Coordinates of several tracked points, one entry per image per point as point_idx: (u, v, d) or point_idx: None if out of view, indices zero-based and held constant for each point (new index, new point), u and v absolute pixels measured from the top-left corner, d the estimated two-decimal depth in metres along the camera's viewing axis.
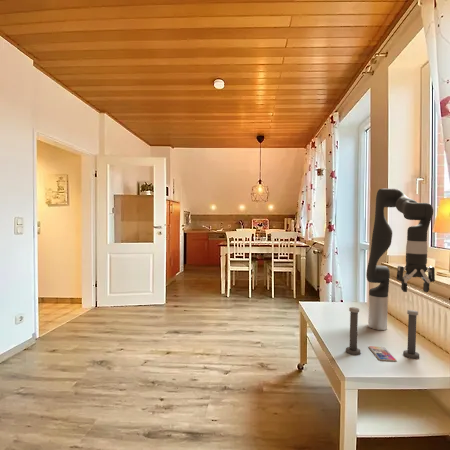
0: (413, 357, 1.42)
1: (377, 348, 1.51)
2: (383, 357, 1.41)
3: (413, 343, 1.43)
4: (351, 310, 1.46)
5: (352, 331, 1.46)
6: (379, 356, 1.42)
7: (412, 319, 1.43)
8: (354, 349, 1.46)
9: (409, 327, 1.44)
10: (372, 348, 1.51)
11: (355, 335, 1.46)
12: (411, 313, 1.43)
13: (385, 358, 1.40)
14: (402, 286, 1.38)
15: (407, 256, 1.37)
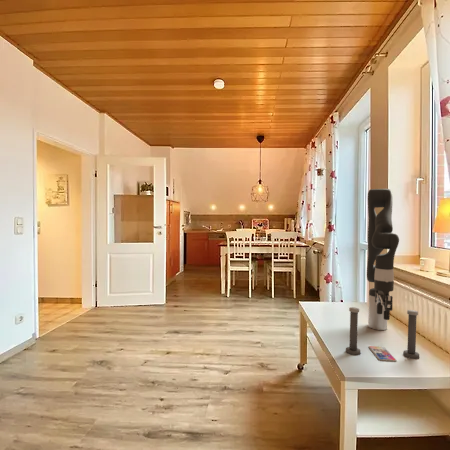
0: (413, 357, 1.42)
1: (377, 348, 1.51)
2: (383, 357, 1.41)
3: (413, 343, 1.43)
4: (351, 310, 1.46)
5: (352, 331, 1.46)
6: (378, 356, 1.42)
7: (412, 319, 1.43)
8: (354, 349, 1.46)
9: (409, 327, 1.44)
10: (372, 348, 1.51)
11: (355, 335, 1.46)
12: (411, 313, 1.43)
13: (385, 358, 1.40)
14: (387, 315, 1.41)
15: (387, 285, 1.42)
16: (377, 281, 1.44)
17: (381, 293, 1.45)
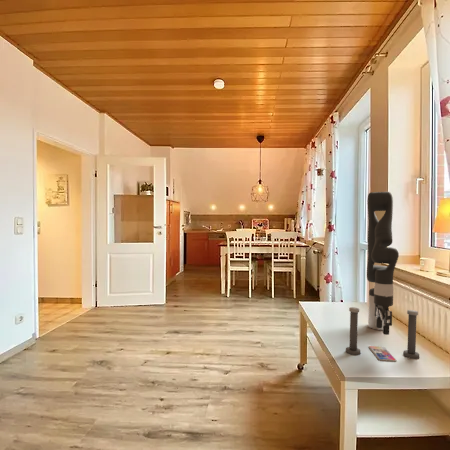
0: (413, 357, 1.42)
1: (377, 348, 1.51)
2: (383, 357, 1.41)
3: (413, 343, 1.43)
4: (351, 310, 1.46)
5: (352, 331, 1.46)
6: (378, 356, 1.42)
7: (412, 319, 1.43)
8: (354, 349, 1.46)
9: (409, 327, 1.44)
10: (372, 348, 1.51)
11: (355, 335, 1.46)
12: (411, 313, 1.43)
13: (385, 358, 1.40)
14: (387, 330, 1.41)
15: (387, 299, 1.42)
16: (376, 296, 1.44)
17: (381, 307, 1.45)
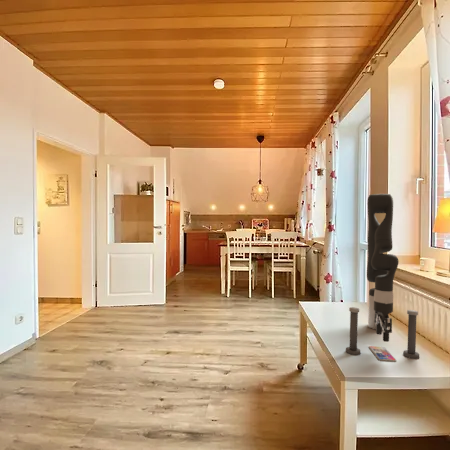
0: (413, 357, 1.42)
1: (377, 348, 1.51)
2: (383, 357, 1.41)
3: (413, 343, 1.43)
4: (351, 310, 1.46)
5: (352, 331, 1.46)
6: (378, 356, 1.42)
7: (412, 319, 1.43)
8: (354, 349, 1.46)
9: (409, 327, 1.44)
10: (372, 348, 1.51)
11: (355, 335, 1.46)
12: (411, 313, 1.43)
13: (385, 358, 1.40)
14: (387, 337, 1.41)
15: (386, 306, 1.42)
16: (376, 303, 1.44)
17: (380, 314, 1.45)
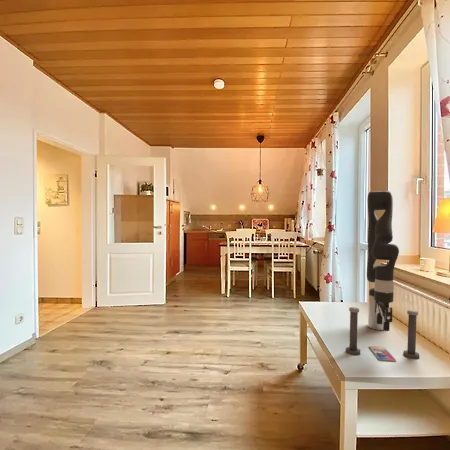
0: (413, 357, 1.42)
1: (377, 348, 1.51)
2: (383, 357, 1.41)
3: (413, 343, 1.43)
4: (351, 310, 1.46)
5: (352, 331, 1.46)
6: (378, 356, 1.42)
7: (412, 319, 1.43)
8: (354, 349, 1.46)
9: (409, 327, 1.44)
10: (372, 348, 1.51)
11: (355, 335, 1.46)
12: (411, 313, 1.43)
13: (385, 358, 1.40)
14: (387, 326, 1.41)
15: (387, 296, 1.42)
16: (377, 292, 1.44)
17: (381, 304, 1.45)
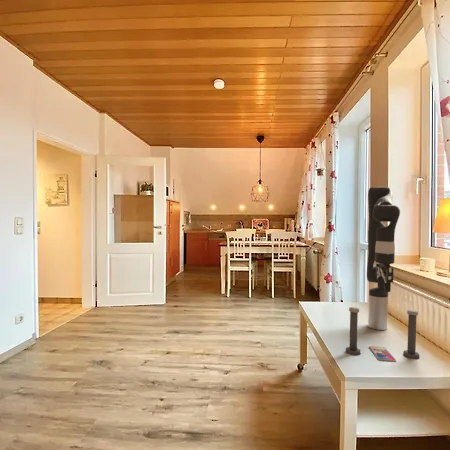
0: (413, 357, 1.42)
1: (377, 348, 1.51)
2: (383, 357, 1.41)
3: (413, 343, 1.43)
4: (351, 310, 1.46)
5: (352, 331, 1.46)
6: (378, 356, 1.42)
7: (412, 319, 1.43)
8: (354, 349, 1.46)
9: (409, 327, 1.44)
10: (372, 348, 1.51)
11: (355, 335, 1.46)
12: (411, 313, 1.43)
13: (385, 358, 1.40)
14: (388, 287, 1.40)
15: (388, 257, 1.41)
16: (378, 254, 1.44)
17: (382, 266, 1.45)
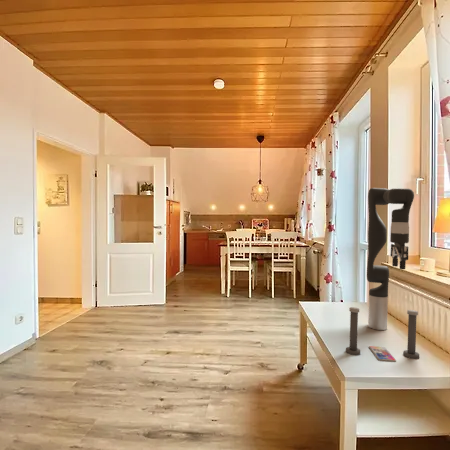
0: (413, 357, 1.42)
1: (377, 348, 1.51)
2: (383, 357, 1.41)
3: (413, 343, 1.43)
4: (351, 310, 1.46)
5: (352, 331, 1.46)
6: (378, 356, 1.42)
7: (412, 319, 1.43)
8: (354, 349, 1.46)
9: (409, 327, 1.44)
10: (372, 348, 1.51)
11: (355, 335, 1.46)
12: (411, 313, 1.43)
13: (384, 358, 1.40)
14: (403, 264, 1.50)
15: (403, 236, 1.51)
16: (393, 234, 1.53)
17: (397, 245, 1.54)
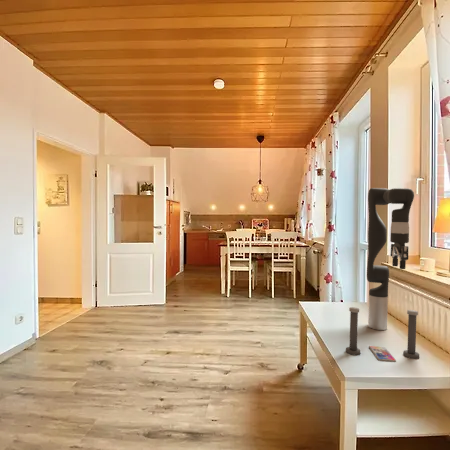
0: (413, 357, 1.42)
1: (378, 348, 1.51)
2: (383, 357, 1.41)
3: (413, 343, 1.43)
4: (351, 310, 1.46)
5: (352, 331, 1.46)
6: (378, 356, 1.42)
7: (412, 319, 1.43)
8: (354, 349, 1.46)
9: (409, 327, 1.44)
10: (372, 348, 1.51)
11: (355, 335, 1.46)
12: (411, 313, 1.43)
13: (384, 358, 1.40)
14: (403, 264, 1.50)
15: (403, 236, 1.51)
16: (393, 234, 1.53)
17: (397, 245, 1.54)
